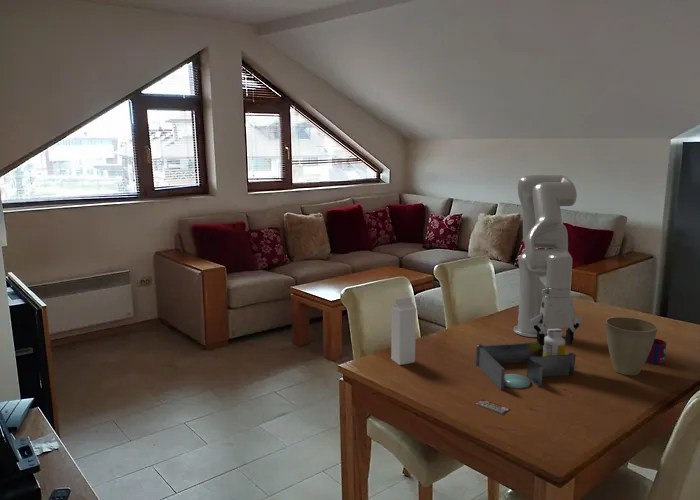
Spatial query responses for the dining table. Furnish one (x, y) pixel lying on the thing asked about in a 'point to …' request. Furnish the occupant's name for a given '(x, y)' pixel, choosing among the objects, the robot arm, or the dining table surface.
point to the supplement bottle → (554, 343)
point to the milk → (403, 331)
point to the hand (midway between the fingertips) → (554, 343)
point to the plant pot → (629, 343)
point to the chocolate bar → (492, 407)
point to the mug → (657, 352)
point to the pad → (516, 381)
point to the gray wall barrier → (518, 353)
